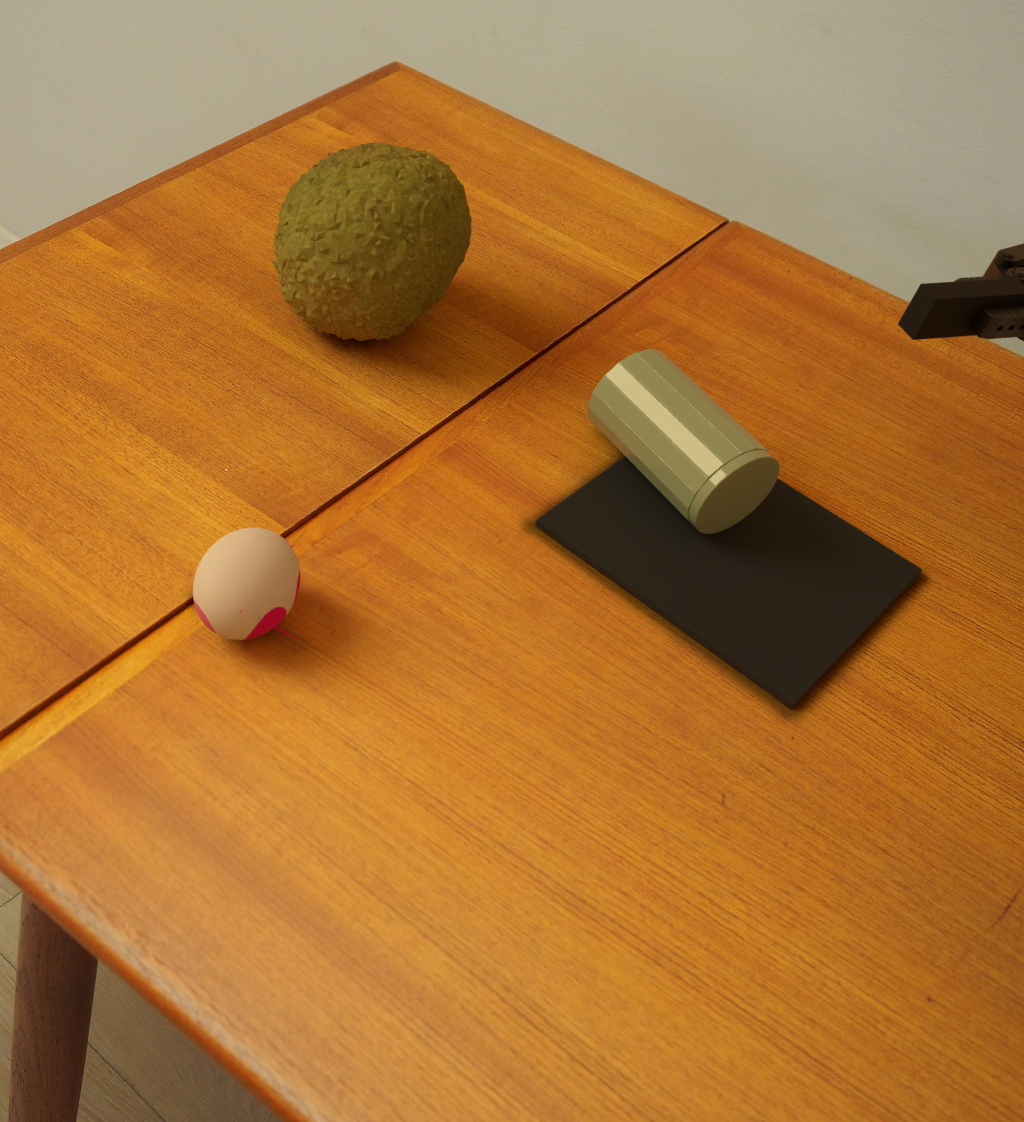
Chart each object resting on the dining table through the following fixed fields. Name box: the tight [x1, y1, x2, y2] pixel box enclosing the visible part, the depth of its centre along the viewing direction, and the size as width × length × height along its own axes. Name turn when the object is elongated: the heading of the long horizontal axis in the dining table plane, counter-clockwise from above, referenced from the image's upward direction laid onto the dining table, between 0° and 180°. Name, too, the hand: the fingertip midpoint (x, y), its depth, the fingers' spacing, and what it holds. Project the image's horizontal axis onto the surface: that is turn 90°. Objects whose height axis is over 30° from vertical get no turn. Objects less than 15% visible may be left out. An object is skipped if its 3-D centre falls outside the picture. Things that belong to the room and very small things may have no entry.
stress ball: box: [192, 526, 302, 642], centre depth 76 cm, size 8×8×7 cm
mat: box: [534, 455, 923, 709], centre depth 87 cm, size 20×18×1 cm
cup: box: [587, 348, 781, 534], centre depth 88 cm, size 7×7×12 cm
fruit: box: [271, 142, 472, 342], centre depth 96 cm, size 16×14×15 cm
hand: (917, 312), depth 70 cm, fingers closed
